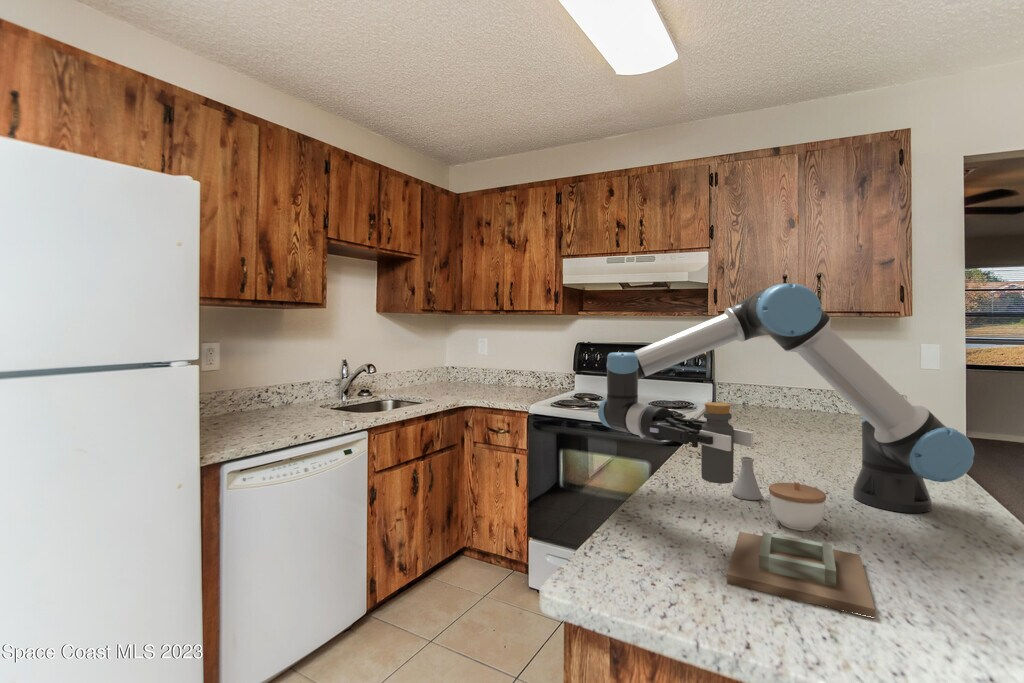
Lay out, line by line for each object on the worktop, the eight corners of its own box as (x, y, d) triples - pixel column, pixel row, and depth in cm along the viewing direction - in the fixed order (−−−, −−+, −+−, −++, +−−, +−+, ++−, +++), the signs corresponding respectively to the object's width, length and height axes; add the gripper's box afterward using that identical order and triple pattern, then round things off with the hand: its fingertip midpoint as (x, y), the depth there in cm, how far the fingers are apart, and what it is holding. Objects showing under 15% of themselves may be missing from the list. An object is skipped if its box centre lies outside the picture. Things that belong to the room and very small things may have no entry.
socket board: (859, 562, 87) (860, 541, 87) (874, 619, 70) (875, 592, 70) (739, 538, 98) (739, 519, 98) (726, 582, 81) (727, 559, 80)
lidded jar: (806, 539, 97) (806, 493, 97) (758, 521, 107) (758, 479, 107) (836, 529, 102) (836, 485, 102) (787, 512, 112) (788, 472, 112)
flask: (756, 492, 126) (756, 454, 126) (767, 501, 119) (768, 461, 119) (727, 491, 127) (727, 453, 127) (737, 500, 120) (737, 461, 120)
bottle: (696, 475, 97) (696, 401, 97) (723, 474, 98) (724, 401, 97) (710, 484, 91) (710, 406, 91) (739, 483, 92) (739, 405, 92)
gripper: (679, 433, 115) (771, 455, 94) (619, 442, 106) (707, 468, 85) (679, 402, 115) (772, 417, 94) (619, 408, 106) (707, 426, 85)
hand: (740, 441), depth 90 cm, fingers closed on bottle, 6 cm apart
